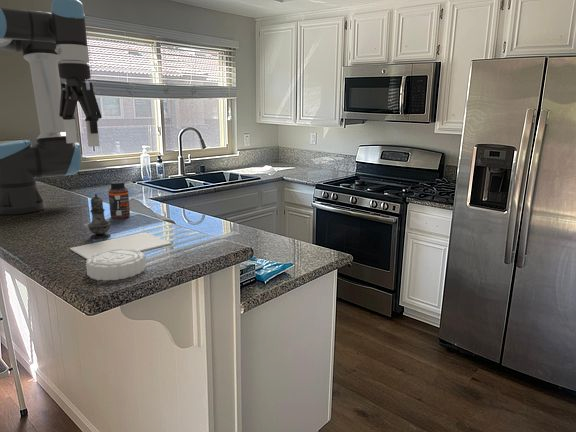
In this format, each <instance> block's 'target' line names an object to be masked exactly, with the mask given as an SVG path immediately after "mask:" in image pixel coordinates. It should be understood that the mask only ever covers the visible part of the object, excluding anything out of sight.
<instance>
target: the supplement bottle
mask: <svg viewBox="0 0 576 432" xmlns="http://www.w3.org/2000/svg"><path fill="white" fill-rule="evenodd" d="M108 203H109V213H110V214H109V215H110V217H111V218H112V219H126V218H129V217H130V216H131V212H130V209H131V208H130V197H129V189H127V187H125V181H119V180H118V181H112V182H110V188H109V189H108Z"/></svg>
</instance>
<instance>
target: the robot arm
mask: <svg viewBox="0 0 576 432" xmlns="http://www.w3.org/2000/svg"><path fill="white" fill-rule="evenodd" d="M50 6H51V7H50V8H51V9H50V12H49V11H41V10H30V9H22V8H21V9H20V8H12V7H3V6H0V50H4V51H8V52H15V53H16V52H18V53H19V52H20V53H22V57H23V59H24V60H25V61H27V63H28V64H29V68H30V74H31V75H30V76H31V80H32V81H31V82H32V87H33V93H34V95H33V96H34V101H35V106H36V113H37V118H38V119H37V120H38V125H39V133H40V134H39V135H38V136H37V137H36V143H32V142H31V141H30V139H21V140H13V141H8V142H3V143H0V215H2V216H3V215H4V216H5V215H7V216H8V215H9V216H10V215H11V216H12V215H24V214H29V213H35V212H39V211H42V210H44V209H46V204H45V200H44V198H43V196H42V194H41V192H40V190H39V189H38V187H37V186H38V185H37V181H36V179H39V178H40V179H41V178H53V177H54V178H56V177H66V176H72V175H76V174H78V173H79V171H80V168H81V163H82V150H81V145H80V143H79V142H78V136H77V127H76V117H75V116H74V115H75V113H76V111H75V110H76V107H77V103H79V105H80V107H81V110H82V111H83V113H84V115H85V120H84V122H85V127H86V128H85V129H86V137H87V146H88V148H91V147H100V136H99V128H98V127H99V126H98V122H99V120H100V119H102V114H101V111H100V107H99V105H98V101H97V98H96V97H97V96H96V95H95V94H96V93H95V92H94V86H93V82H92V81H86V80H90V79H91V66H90V65H89V64H88V63H90V56H89V46H88V39H87V28H86V14H85V11H84V9H85V8H84V4H83V2H81V1H80V0H51V1H50ZM61 79H63V80H66V81H65V82H61Z"/></svg>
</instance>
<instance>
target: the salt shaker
mask: <svg viewBox="0 0 576 432" xmlns="http://www.w3.org/2000/svg"><path fill="white" fill-rule="evenodd" d="M90 205H91V207H90V208H91V209H90V213H91V222H89V223H88V224H87V225H86V226H87V227H88V230H89V231H90V233H92V235H90V237H89V239H90V240H94V241H95V240H105V239H108V238H110V237H111V234H110V233H108V232H109V230H110V225H111V224H112V223H111V222H110V221H108V220H106V218H105V211H106V209H105V208H104V202H103V198H102V197H100V196H98V193H95V194H94V197H92V198H90Z"/></svg>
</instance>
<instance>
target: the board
mask: <svg viewBox="0 0 576 432" xmlns="http://www.w3.org/2000/svg"><path fill="white" fill-rule="evenodd" d="M170 245H172V242H170V241H168V240H165V239H162V238H160V237H158V236H156V235H152V234H151V233H148V232H145V231H144V232H140V233H135V234H131V235H126V236H121V237H117V238H111V239H107V240H102V241H98V242H93V243H87V244H82V245H79V246H73V247H70V248H69V249H70V251H72V252H74V253H75V254H76V255H78V256H81V257H82V258H83V259H85V260H88V258H89V257H91V256H93V255H95V254H96V253H101V252H105V251H108V250H112V249H135V250H136V251H140V252H142V253H143V252H145V251H149V250H153V249H157V248H161V247H162V248H163V247H165V246H170Z"/></svg>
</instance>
